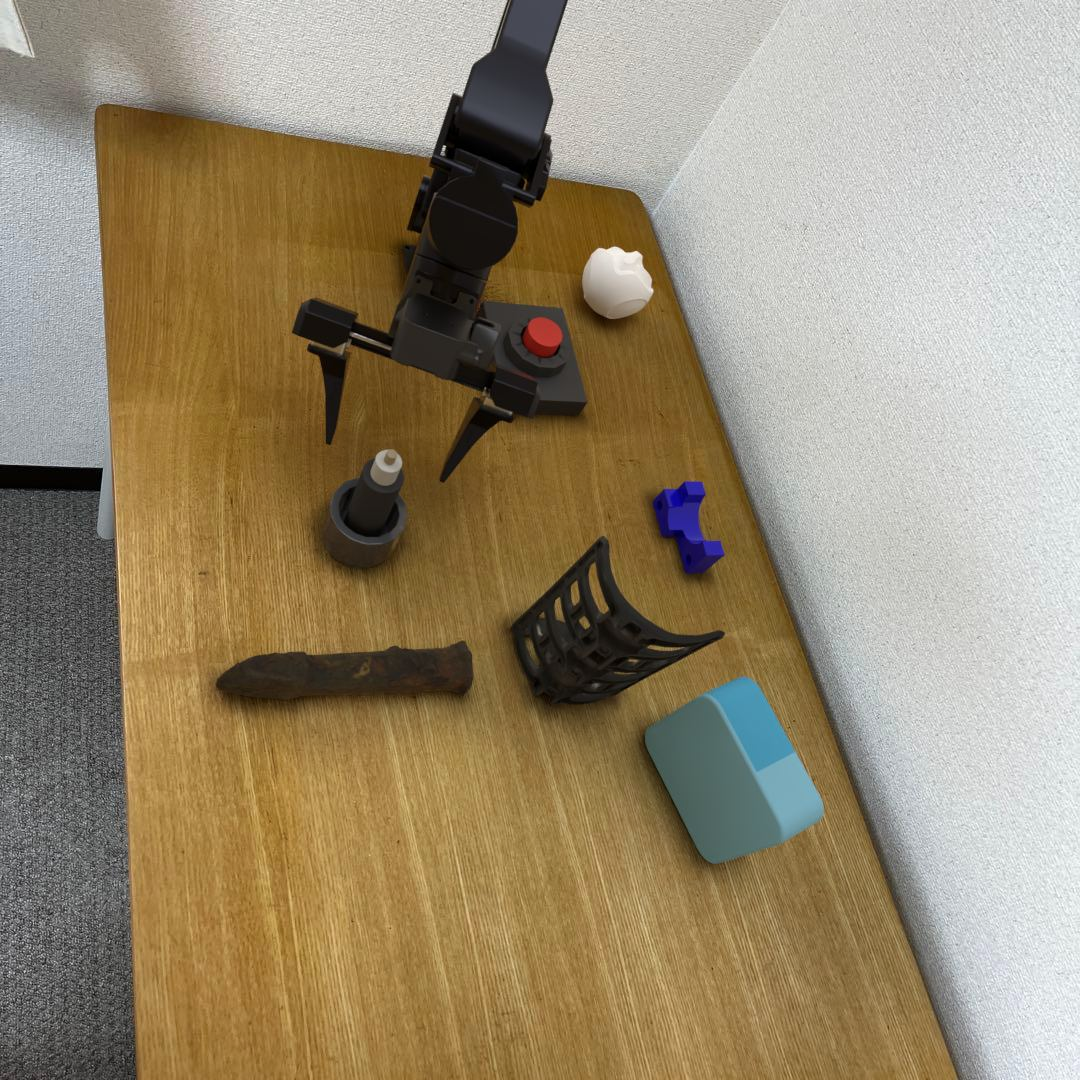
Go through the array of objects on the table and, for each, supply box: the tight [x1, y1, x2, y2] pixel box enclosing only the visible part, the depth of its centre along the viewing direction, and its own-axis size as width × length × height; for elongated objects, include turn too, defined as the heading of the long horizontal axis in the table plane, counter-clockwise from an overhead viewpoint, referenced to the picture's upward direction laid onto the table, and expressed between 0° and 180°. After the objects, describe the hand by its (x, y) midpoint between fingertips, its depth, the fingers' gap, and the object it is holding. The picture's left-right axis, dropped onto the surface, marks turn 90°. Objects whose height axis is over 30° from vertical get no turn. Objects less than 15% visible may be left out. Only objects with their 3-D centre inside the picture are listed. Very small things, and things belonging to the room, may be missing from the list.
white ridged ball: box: [581, 246, 654, 320], centre depth 97 cm, size 8×8×8 cm
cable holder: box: [651, 480, 725, 574], centre depth 87 cm, size 8×4×4 cm, turn 12°
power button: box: [522, 317, 562, 357], centre depth 88 cm, size 4×4×2 cm
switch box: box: [475, 300, 589, 416], centre depth 90 cm, size 12×9×4 cm
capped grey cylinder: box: [344, 448, 405, 537], centre depth 71 cm, size 3×3×12 cm
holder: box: [509, 535, 726, 707], centre depth 69 cm, size 11×8×20 cm
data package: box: [644, 676, 825, 865], centre depth 71 cm, size 12×4×12 cm, turn 27°
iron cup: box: [321, 476, 408, 569], centre depth 74 cm, size 6×6×4 cm
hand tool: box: [215, 639, 474, 701], centre depth 68 cm, size 19×4×5 cm, turn 98°
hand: (385, 462), depth 71 cm, fingers open, 9 cm apart
